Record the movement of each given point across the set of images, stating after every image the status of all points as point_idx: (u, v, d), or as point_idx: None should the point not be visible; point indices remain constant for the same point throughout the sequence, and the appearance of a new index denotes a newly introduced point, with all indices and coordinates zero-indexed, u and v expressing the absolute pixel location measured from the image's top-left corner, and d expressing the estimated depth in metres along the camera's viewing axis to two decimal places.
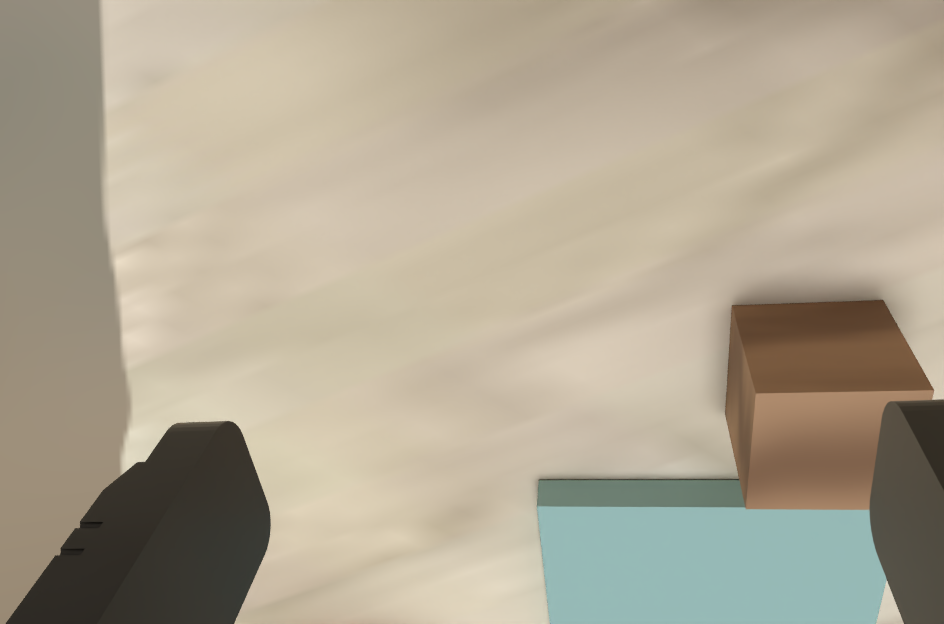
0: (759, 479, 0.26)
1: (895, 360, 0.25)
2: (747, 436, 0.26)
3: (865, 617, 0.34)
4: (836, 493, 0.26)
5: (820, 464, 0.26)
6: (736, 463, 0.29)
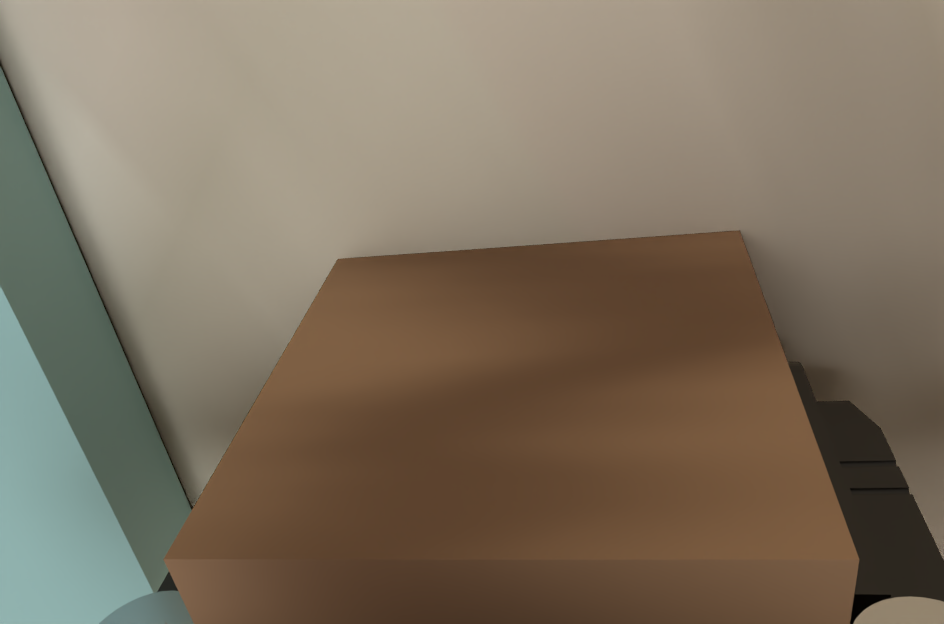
0: (345, 591, 0.06)
1: None
2: (513, 492, 0.06)
3: None
4: None
5: None
6: (269, 396, 0.08)
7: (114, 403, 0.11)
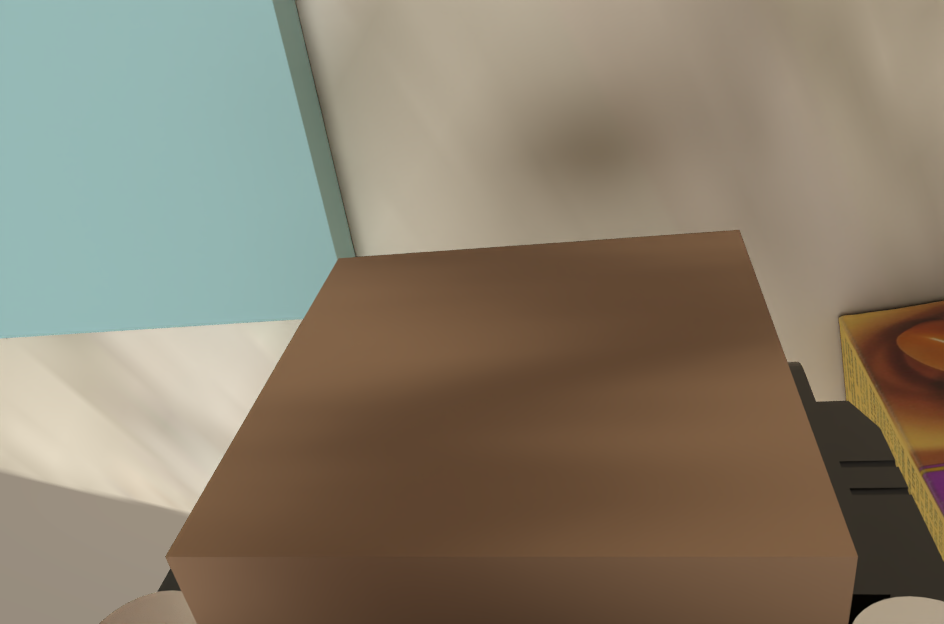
0: (346, 588, 0.06)
1: None
2: (514, 490, 0.06)
3: (131, 315, 0.23)
4: None
5: None
6: (270, 394, 0.08)
7: (319, 140, 0.21)
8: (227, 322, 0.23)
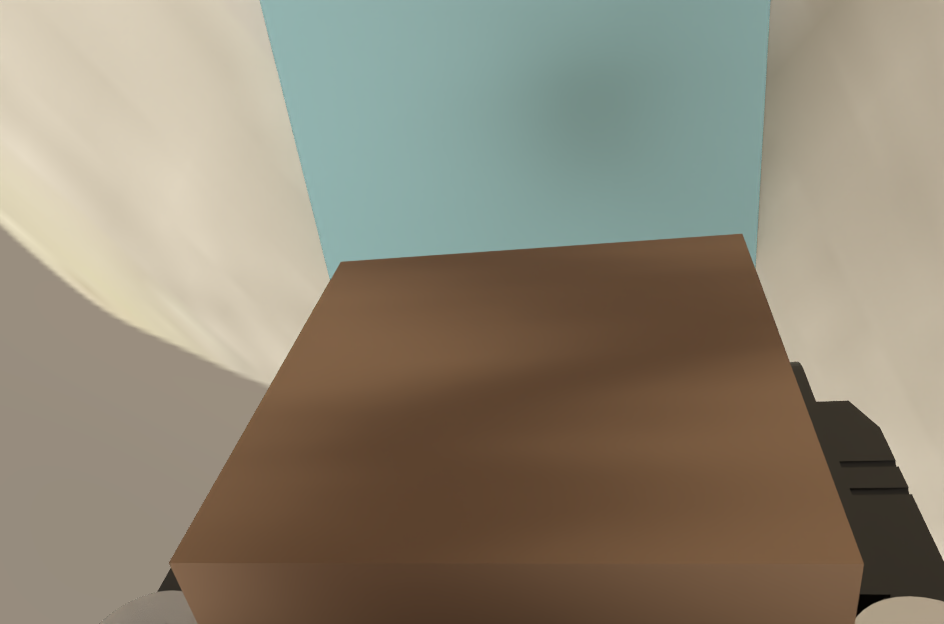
0: (350, 595, 0.06)
1: None
2: (518, 496, 0.06)
3: None
4: None
5: None
6: (273, 399, 0.08)
7: None
8: None
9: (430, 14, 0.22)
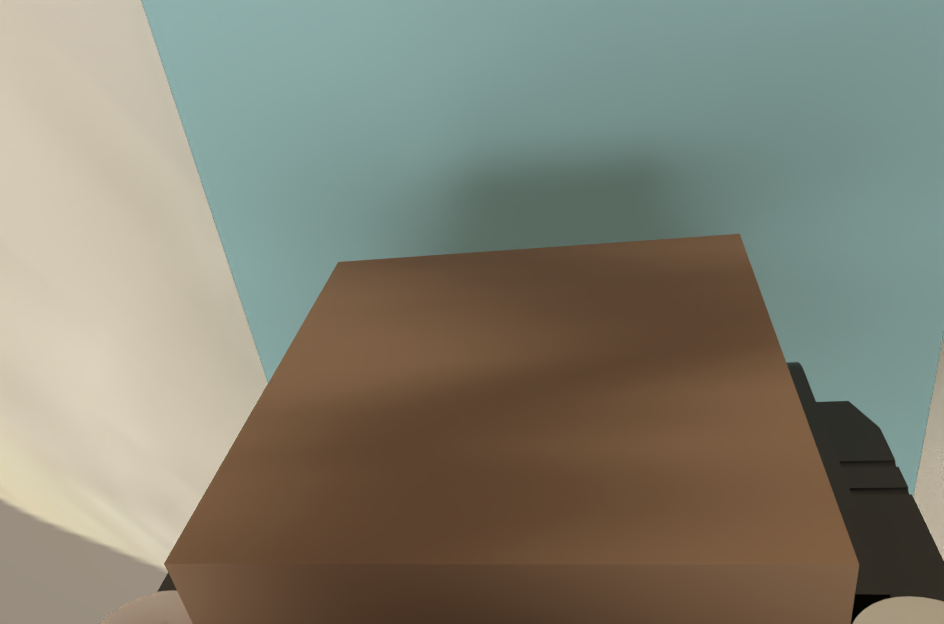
0: (346, 595, 0.06)
1: None
2: (513, 496, 0.06)
3: None
4: None
5: None
6: (270, 399, 0.08)
7: None
8: None
9: (444, 160, 0.15)
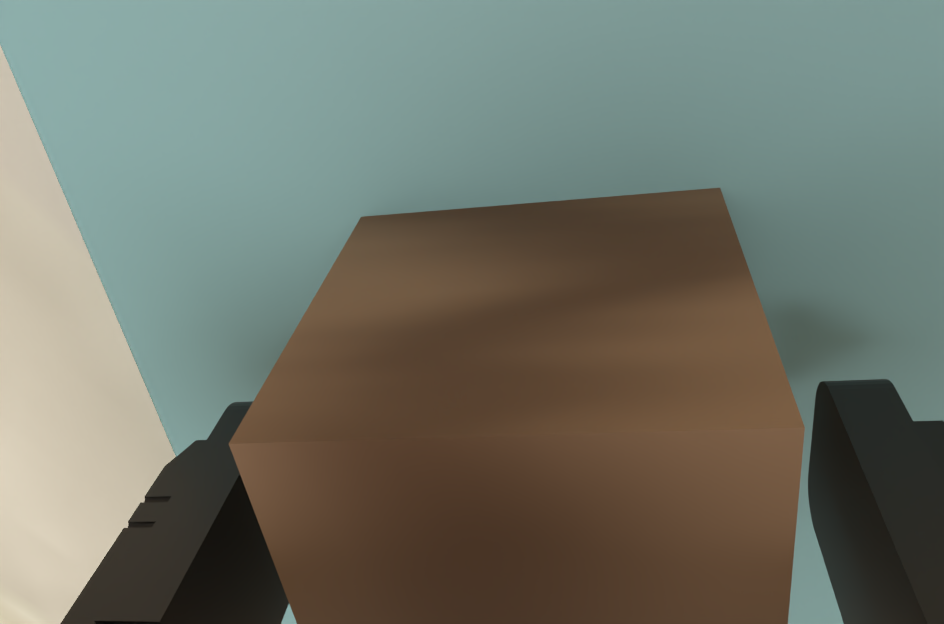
0: (381, 469, 0.07)
1: None
2: (521, 389, 0.07)
3: None
4: None
5: (482, 604, 0.08)
6: (308, 324, 0.09)
7: None
8: None
9: None
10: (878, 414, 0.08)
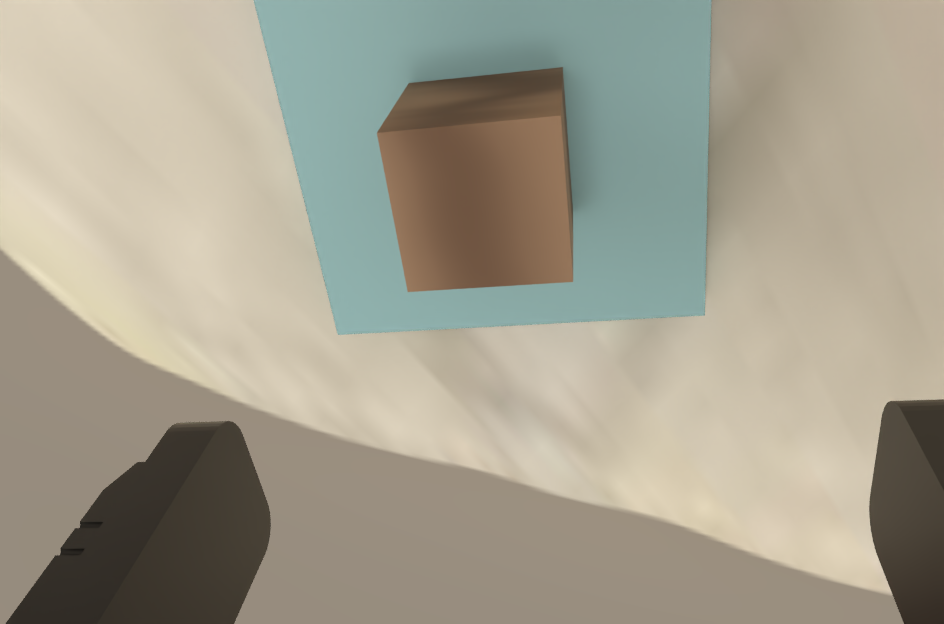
0: (428, 140, 0.22)
1: None
2: (475, 116, 0.22)
3: (523, 314, 0.30)
4: (420, 223, 0.23)
5: (462, 200, 0.23)
6: (395, 109, 0.24)
7: None
8: (601, 319, 0.30)
9: None
10: None
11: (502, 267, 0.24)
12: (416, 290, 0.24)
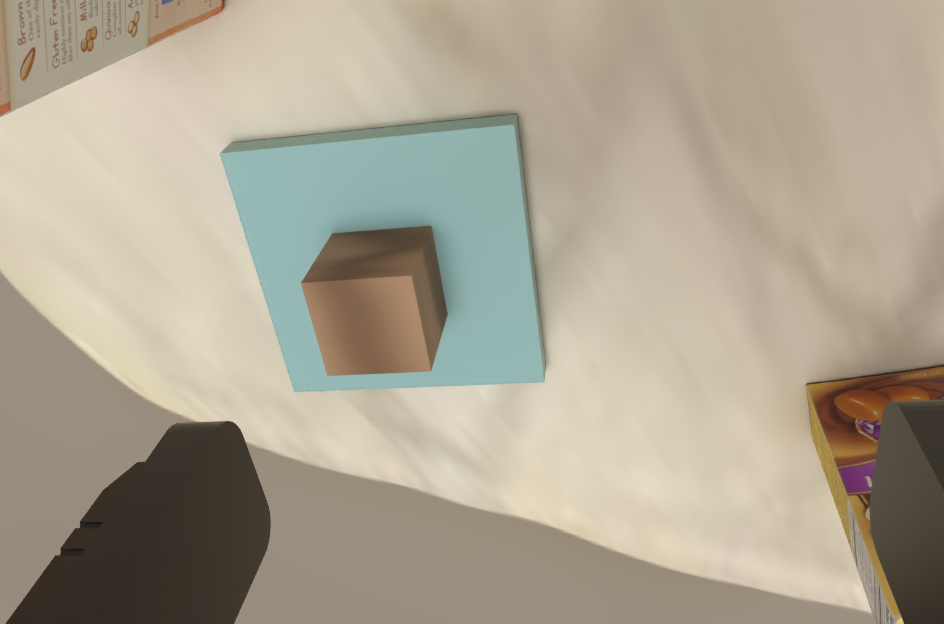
0: (332, 287, 0.35)
1: (434, 342, 0.38)
2: (362, 271, 0.35)
3: (420, 380, 0.43)
4: (331, 335, 0.36)
5: (356, 322, 0.36)
6: (317, 260, 0.37)
7: (536, 294, 0.41)
8: (474, 384, 0.43)
9: None
10: None
11: (385, 362, 0.37)
12: (332, 375, 0.37)
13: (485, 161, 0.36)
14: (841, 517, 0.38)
